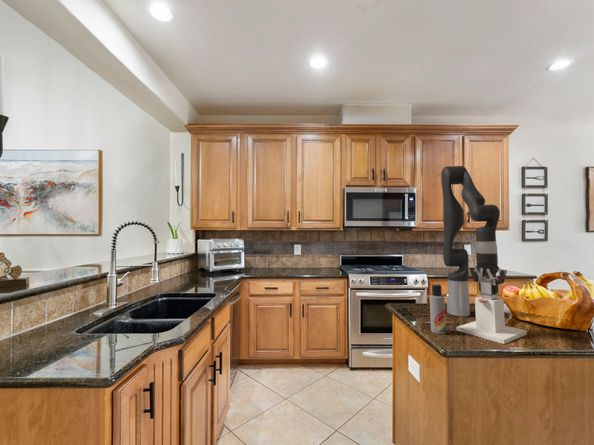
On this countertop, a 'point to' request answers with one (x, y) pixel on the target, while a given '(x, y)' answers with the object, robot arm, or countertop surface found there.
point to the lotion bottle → (437, 310)
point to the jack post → (487, 289)
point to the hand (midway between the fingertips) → (488, 292)
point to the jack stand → (491, 322)
